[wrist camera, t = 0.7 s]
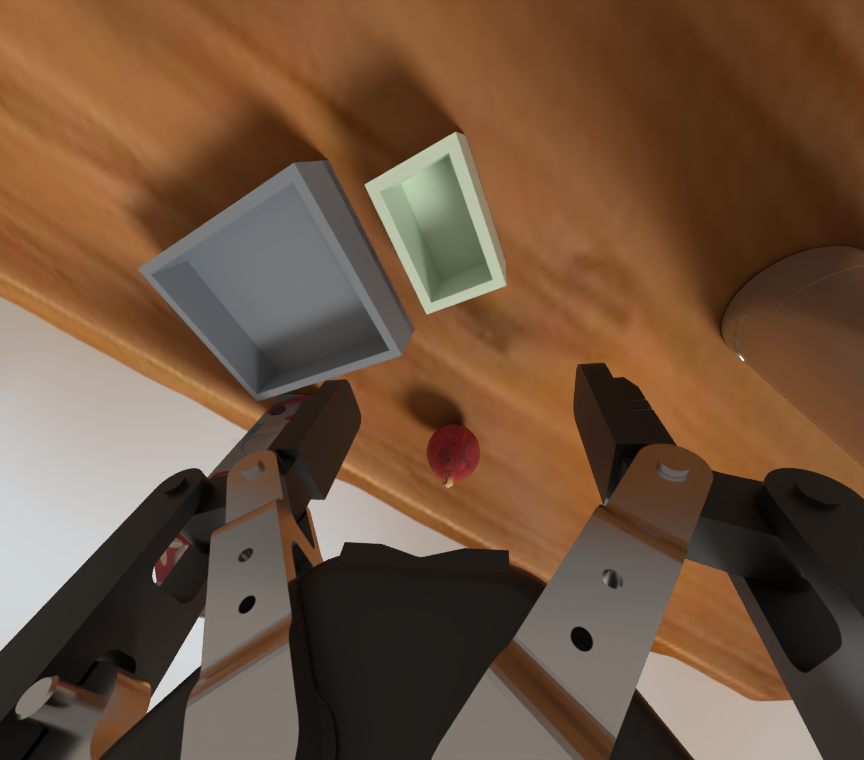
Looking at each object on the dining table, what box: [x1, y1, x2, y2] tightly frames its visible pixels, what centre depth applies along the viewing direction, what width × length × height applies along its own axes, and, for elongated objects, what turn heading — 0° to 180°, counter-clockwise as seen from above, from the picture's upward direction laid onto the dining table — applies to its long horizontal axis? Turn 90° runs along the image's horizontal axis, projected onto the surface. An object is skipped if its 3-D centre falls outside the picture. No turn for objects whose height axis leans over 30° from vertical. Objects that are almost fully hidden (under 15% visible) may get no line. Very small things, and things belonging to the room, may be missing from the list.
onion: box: [427, 424, 480, 488], centre depth 35 cm, size 6×6×8 cm
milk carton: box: [155, 394, 312, 618], centre depth 32 cm, size 7×7×22 cm
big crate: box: [138, 160, 415, 402], centre depth 29 cm, size 18×15×5 cm
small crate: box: [365, 132, 506, 314], centre depth 23 cm, size 6×9×6 cm, turn 25°
